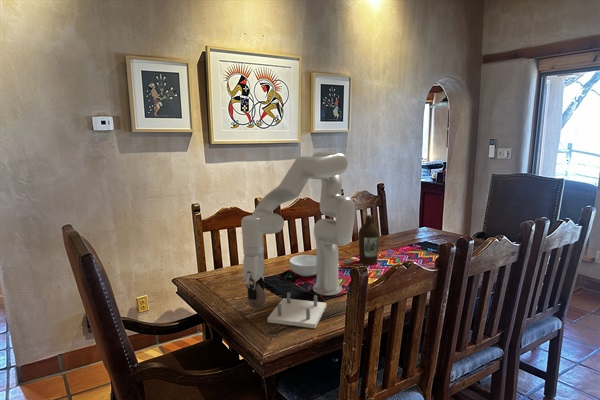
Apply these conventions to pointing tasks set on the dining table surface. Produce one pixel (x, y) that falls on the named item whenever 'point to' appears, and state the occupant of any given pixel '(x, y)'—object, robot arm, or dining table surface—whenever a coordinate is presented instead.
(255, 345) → the dining table surface
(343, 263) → the dining table surface
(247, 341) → the dining table surface
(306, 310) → the stand
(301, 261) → the cereal bowl
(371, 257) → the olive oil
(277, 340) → the dining table surface
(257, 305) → the vase
